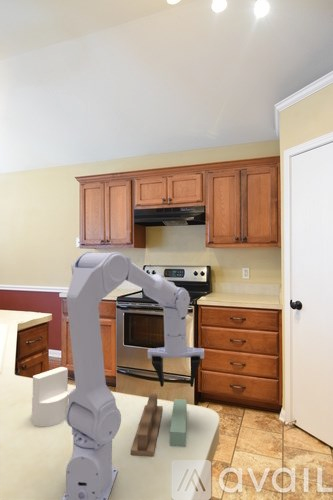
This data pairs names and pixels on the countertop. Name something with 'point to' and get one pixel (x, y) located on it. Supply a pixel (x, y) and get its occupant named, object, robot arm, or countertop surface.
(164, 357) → the robot arm
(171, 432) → the pale green bar
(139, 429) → the stand
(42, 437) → the countertop surface
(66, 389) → the base with upright slab
